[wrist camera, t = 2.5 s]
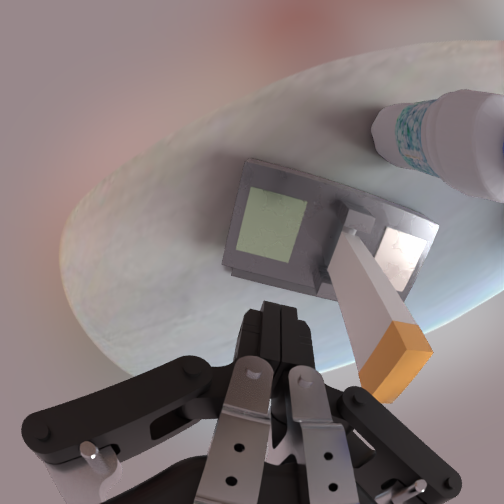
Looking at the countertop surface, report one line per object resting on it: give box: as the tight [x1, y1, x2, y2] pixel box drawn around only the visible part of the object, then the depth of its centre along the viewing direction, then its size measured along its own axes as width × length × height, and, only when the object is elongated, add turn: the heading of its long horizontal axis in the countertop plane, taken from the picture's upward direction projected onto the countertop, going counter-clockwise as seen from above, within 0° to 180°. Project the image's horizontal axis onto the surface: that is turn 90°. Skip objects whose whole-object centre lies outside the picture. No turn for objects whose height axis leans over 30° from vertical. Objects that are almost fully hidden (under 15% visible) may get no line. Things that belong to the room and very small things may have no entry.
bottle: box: [371, 89, 504, 203], centre depth 14 cm, size 7×7×20 cm
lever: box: [327, 226, 433, 404], centre depth 17 cm, size 2×4×15 cm, turn 167°
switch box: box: [222, 158, 439, 302], centre depth 25 cm, size 20×10×7 cm, turn 76°
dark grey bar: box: [231, 268, 336, 301], centre depth 31 cm, size 18×2×1 cm, turn 76°
